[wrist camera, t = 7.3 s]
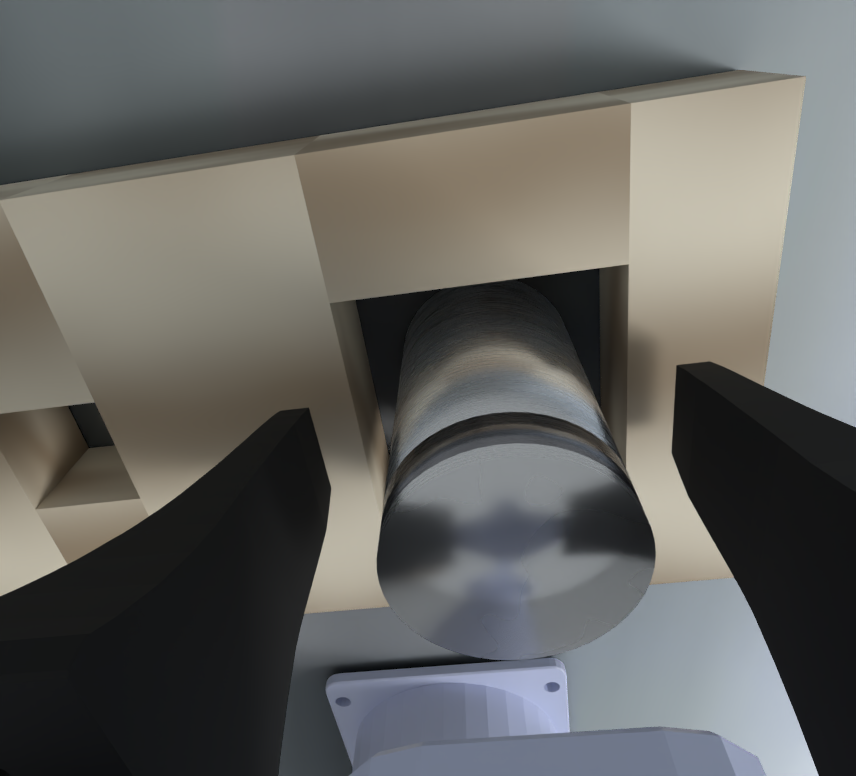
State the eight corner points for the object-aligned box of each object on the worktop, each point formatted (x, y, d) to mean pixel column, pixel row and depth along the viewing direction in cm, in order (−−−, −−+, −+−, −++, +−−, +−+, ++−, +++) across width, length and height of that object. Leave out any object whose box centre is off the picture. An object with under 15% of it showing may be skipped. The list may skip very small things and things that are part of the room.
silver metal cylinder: (572, 413, 16) (654, 647, 10) (419, 433, 16) (404, 670, 10) (563, 263, 14) (657, 438, 8) (389, 290, 14) (347, 477, 8)
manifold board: (700, 509, 17) (737, 577, 15) (31, 572, 19) (-22, 641, 17) (740, 70, 12) (805, 76, 10) (-194, 215, 14) (-315, 248, 11)
